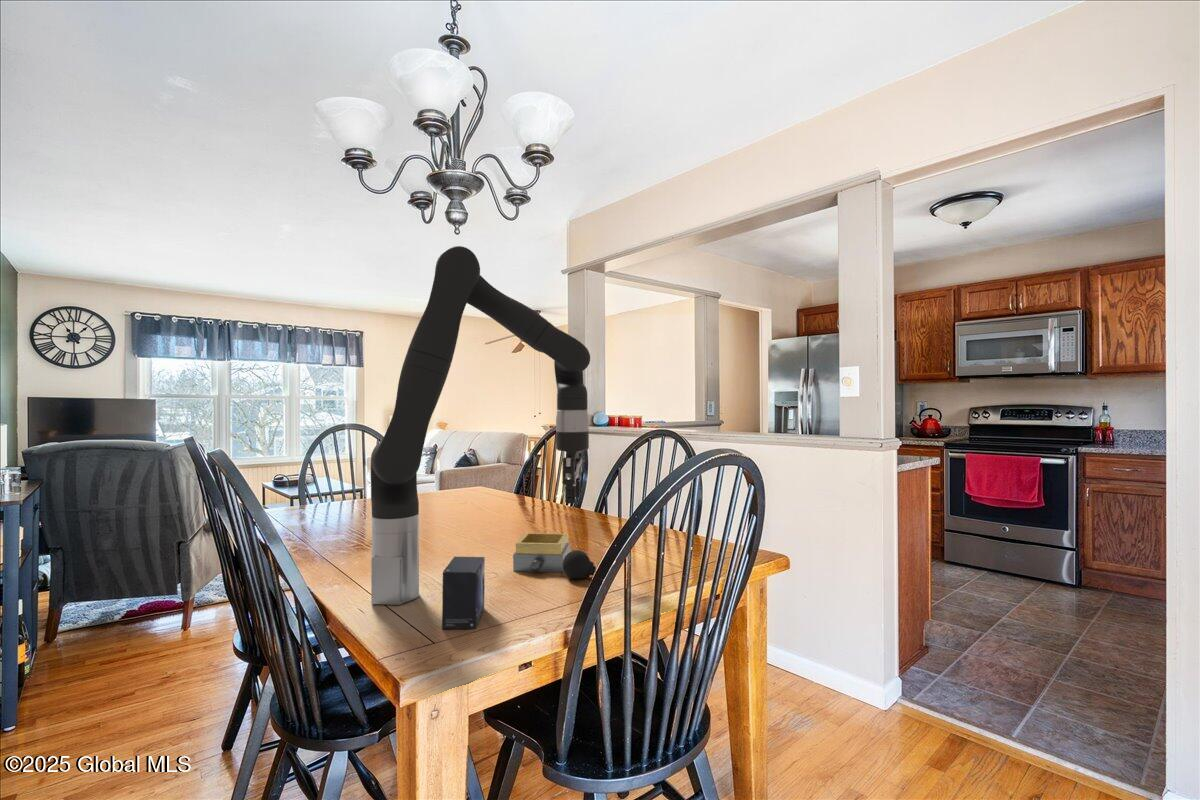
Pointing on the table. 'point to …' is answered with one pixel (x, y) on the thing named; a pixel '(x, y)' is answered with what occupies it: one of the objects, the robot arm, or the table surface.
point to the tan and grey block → (541, 552)
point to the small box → (463, 592)
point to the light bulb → (578, 565)
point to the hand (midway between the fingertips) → (572, 499)
